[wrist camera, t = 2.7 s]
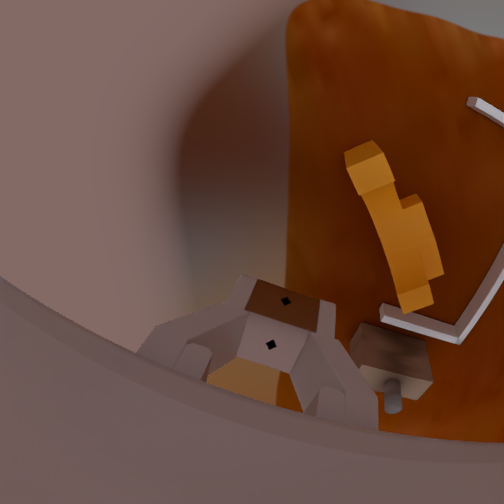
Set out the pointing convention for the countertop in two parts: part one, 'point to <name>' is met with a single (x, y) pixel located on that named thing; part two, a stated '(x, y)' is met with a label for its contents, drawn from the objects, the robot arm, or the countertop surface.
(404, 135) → the countertop surface
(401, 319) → the grey staple-shaped wire
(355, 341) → the block
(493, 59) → the countertop surface
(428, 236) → the pipe clamp
